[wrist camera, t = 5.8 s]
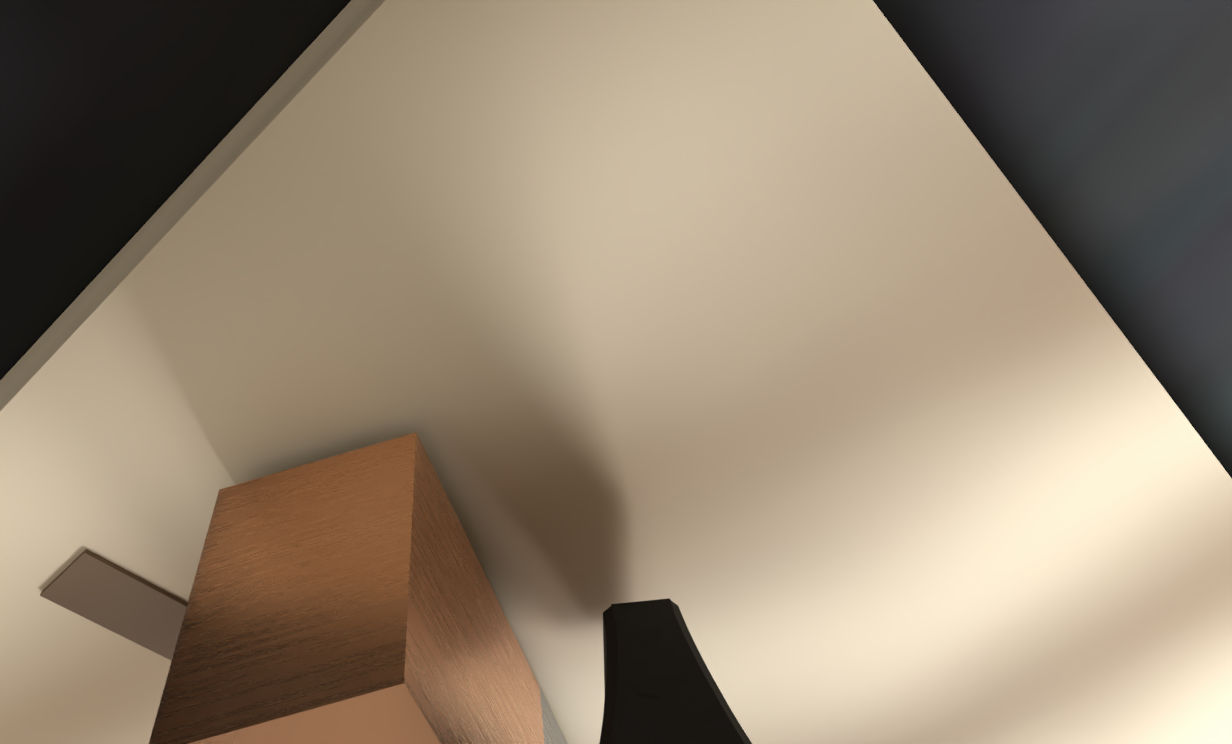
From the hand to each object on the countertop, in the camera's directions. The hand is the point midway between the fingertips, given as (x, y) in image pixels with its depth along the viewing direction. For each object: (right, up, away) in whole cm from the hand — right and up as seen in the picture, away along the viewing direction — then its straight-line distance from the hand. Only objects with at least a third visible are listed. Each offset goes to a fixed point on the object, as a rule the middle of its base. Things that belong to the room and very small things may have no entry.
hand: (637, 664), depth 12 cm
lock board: (-1, -4, +6) cm, 7 cm away
